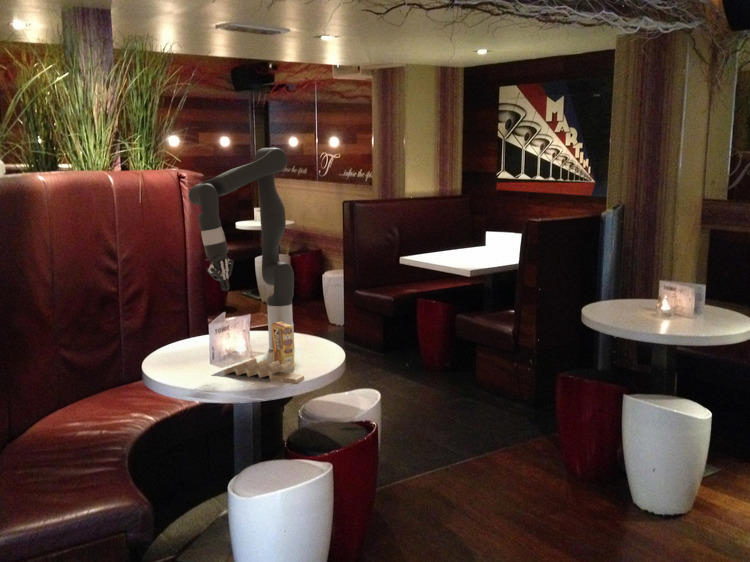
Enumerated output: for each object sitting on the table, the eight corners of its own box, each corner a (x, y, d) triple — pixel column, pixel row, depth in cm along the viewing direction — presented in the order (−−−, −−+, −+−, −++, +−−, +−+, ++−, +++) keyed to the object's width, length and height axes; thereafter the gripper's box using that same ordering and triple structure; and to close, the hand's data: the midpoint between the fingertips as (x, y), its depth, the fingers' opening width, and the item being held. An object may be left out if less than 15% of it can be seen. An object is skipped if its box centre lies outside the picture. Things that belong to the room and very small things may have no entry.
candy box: (295, 369, 244) (293, 325, 242) (283, 371, 242) (282, 327, 240) (283, 364, 252) (281, 321, 249) (272, 365, 249) (270, 322, 247)
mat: (228, 368, 247) (228, 367, 247) (283, 375, 238) (283, 374, 238) (210, 376, 238) (210, 375, 238) (267, 383, 229) (267, 382, 229)
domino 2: (234, 371, 236) (258, 362, 232) (243, 367, 241) (266, 359, 237) (236, 375, 236) (260, 367, 232) (245, 371, 241) (268, 363, 237)
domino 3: (246, 372, 235) (269, 364, 230) (254, 368, 239) (278, 360, 235) (247, 377, 235) (271, 368, 230) (256, 373, 239) (279, 364, 235)
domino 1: (223, 370, 238) (246, 361, 234) (232, 366, 243) (255, 358, 238) (225, 374, 238) (248, 366, 234) (234, 370, 243) (257, 362, 238)
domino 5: (269, 374, 231) (296, 379, 227) (277, 370, 235) (304, 375, 231) (269, 379, 231) (296, 384, 227) (277, 375, 236) (304, 380, 232)
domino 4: (257, 373, 233) (282, 365, 228) (266, 369, 237) (290, 361, 233) (259, 378, 233) (283, 369, 228) (267, 374, 237) (291, 365, 233)
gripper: (211, 244, 239) (223, 294, 242) (234, 236, 250) (245, 284, 254) (193, 247, 242) (206, 296, 246) (217, 238, 254) (229, 285, 257)
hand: (226, 290), depth 250 cm, fingers closed
